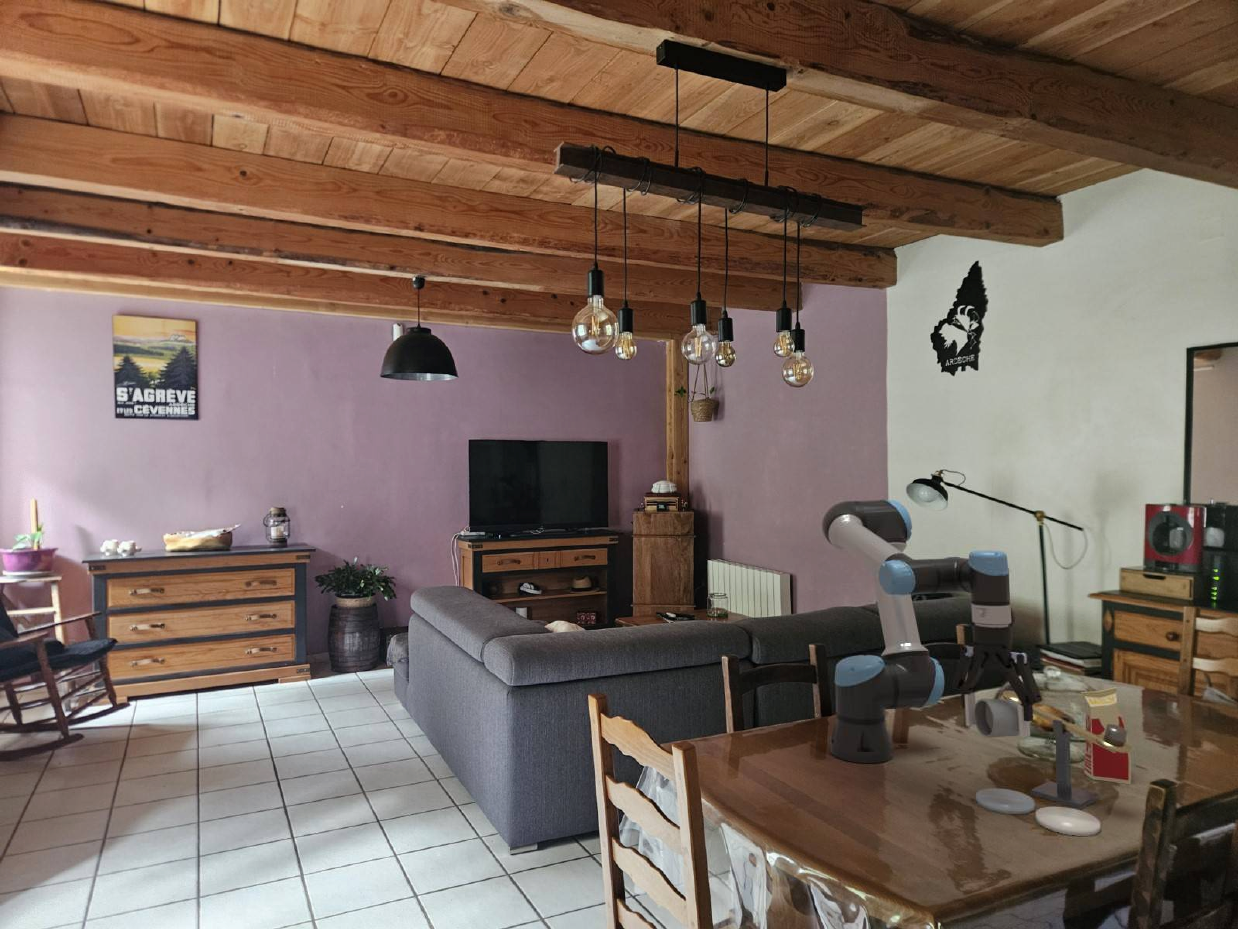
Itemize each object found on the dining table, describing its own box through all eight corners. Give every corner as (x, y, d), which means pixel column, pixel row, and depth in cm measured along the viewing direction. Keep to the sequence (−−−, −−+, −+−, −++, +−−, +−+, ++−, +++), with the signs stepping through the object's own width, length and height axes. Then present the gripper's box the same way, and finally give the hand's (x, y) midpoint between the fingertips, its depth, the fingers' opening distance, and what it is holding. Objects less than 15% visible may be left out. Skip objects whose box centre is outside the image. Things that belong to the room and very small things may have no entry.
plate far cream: (1025, 822, 157) (1025, 816, 158) (1052, 807, 164) (1052, 802, 164) (1084, 841, 149) (1084, 835, 149) (1110, 825, 155) (1110, 819, 155)
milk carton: (1126, 771, 183) (1123, 683, 184) (1133, 785, 175) (1130, 693, 175) (1081, 765, 187) (1078, 680, 188) (1085, 779, 179) (1082, 689, 179)
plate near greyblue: (965, 802, 168) (965, 797, 168) (993, 789, 174) (993, 784, 174) (1017, 819, 159) (1017, 814, 159) (1044, 805, 165) (1044, 800, 165)
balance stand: (1031, 794, 171) (1028, 717, 171) (1049, 785, 176) (1046, 710, 176) (1080, 809, 163) (1077, 728, 163) (1098, 799, 168) (1095, 720, 168)
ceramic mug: (1031, 739, 163) (1029, 701, 164) (994, 742, 162) (992, 703, 163) (1000, 726, 174) (998, 690, 174) (965, 729, 172) (963, 692, 173)
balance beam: (996, 700, 178) (1000, 681, 177) (1009, 695, 182) (1014, 676, 181) (1120, 760, 158) (1126, 739, 157) (1133, 753, 161) (1139, 733, 160)
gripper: (931, 620, 176) (936, 722, 174) (1038, 632, 156) (1044, 746, 155) (951, 617, 180) (956, 716, 179) (1057, 628, 161) (1063, 739, 159)
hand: (997, 730), depth 167 cm, fingers closed on ceramic mug, 11 cm apart
